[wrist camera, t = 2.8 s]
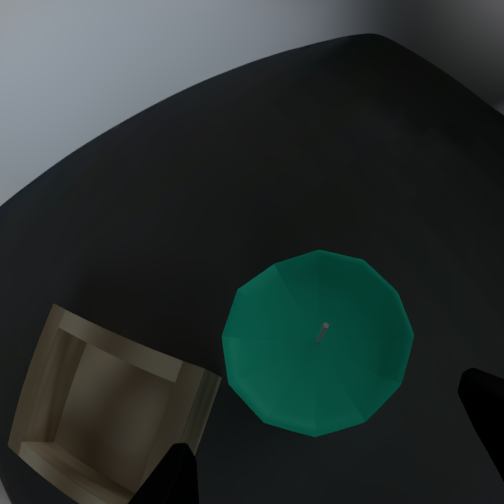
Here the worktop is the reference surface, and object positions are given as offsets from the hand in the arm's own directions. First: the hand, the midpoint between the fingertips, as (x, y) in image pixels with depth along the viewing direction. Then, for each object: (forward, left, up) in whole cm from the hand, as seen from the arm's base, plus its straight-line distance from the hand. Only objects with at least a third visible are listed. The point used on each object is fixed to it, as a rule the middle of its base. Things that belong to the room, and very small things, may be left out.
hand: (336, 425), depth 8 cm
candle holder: (+11, +5, -10) cm, 16 cm away
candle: (+1, -2, -10) cm, 11 cm away
